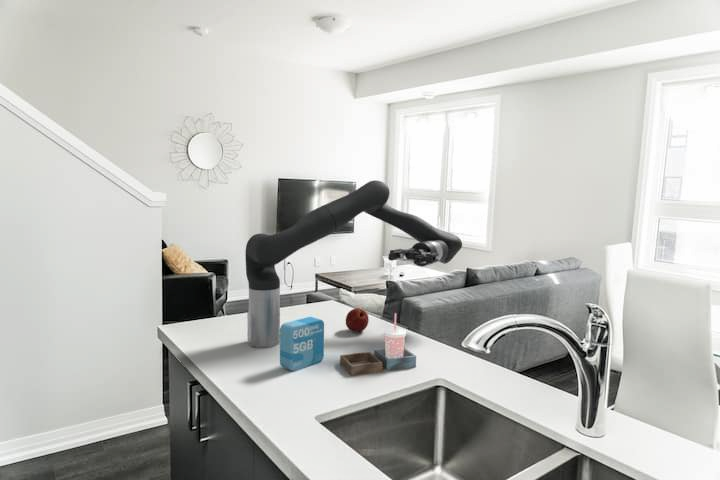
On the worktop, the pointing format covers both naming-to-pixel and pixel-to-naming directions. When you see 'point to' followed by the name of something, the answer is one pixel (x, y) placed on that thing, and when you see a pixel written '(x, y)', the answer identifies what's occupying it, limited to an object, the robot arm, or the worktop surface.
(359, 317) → the apple
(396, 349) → the beverage cup
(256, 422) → the worktop surface
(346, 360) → the cup dock
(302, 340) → the data package
